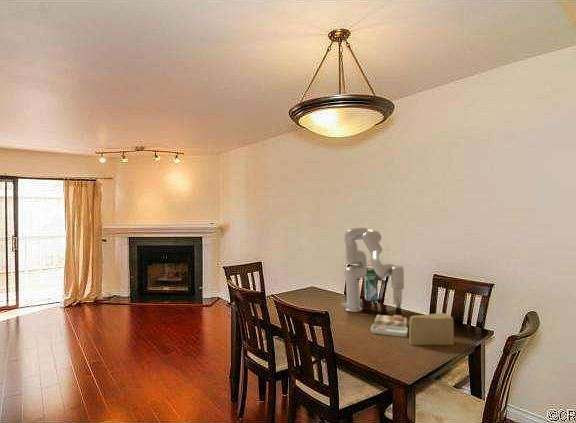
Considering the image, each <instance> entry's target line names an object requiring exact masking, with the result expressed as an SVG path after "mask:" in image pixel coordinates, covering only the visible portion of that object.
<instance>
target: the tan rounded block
mask: <svg viewBox="0 0 576 423" xmlns="http://www.w3.org/2000/svg"><path fill="white" fill-rule="evenodd" d="M454 332H455V331H454V317H452V316H451V315H449V314H447V313H445V312H439V313H429V314H420V315H419V314H418V315H411V316H410V317H409V328H408V334H409V337H408V339H409V344H410V345H411V346H431V345H432V346H433V345H434V346H435V345H437V346H439V345H440V346H453V345H454V342H455V341H454V340H455V339H454V338H455V337H454V334H455V333H454Z"/></svg>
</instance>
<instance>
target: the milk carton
mask: <svg viewBox="0 0 576 423" xmlns="http://www.w3.org/2000/svg"><path fill="white" fill-rule="evenodd" d="M363 278H364V280H363V281H364V299H365V301H367V302H378V301H379V297H378V296H379V294H378V289H379V288H378V275H377V274H376V272H375V271H374V269H373V268H367V273H366V276H365V277H363Z"/></svg>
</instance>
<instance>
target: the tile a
mask: <svg viewBox="0 0 576 423" xmlns="http://www.w3.org/2000/svg"><path fill="white" fill-rule="evenodd" d="M377 330H385V331H386V327H383V326H378V328H377Z"/></svg>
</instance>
